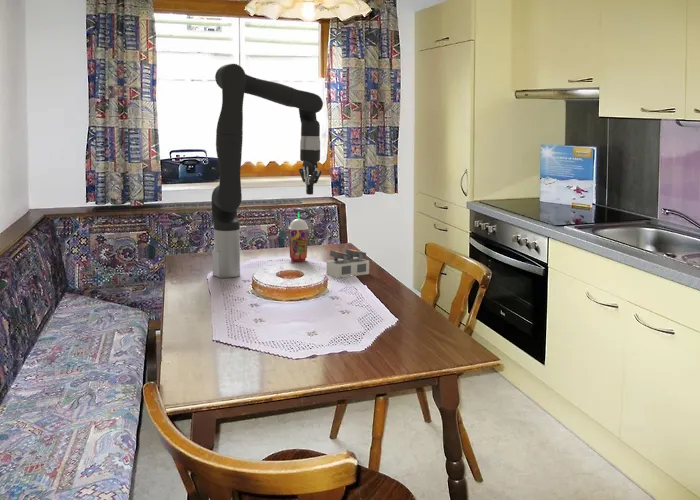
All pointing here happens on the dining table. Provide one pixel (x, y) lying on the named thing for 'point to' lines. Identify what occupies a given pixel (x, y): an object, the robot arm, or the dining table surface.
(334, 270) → the rocker switch box
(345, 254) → the rocker
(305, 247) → the smoothie
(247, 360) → the dining table surface
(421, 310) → the dining table surface
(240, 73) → the robot arm
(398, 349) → the dining table surface
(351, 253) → the rocker
